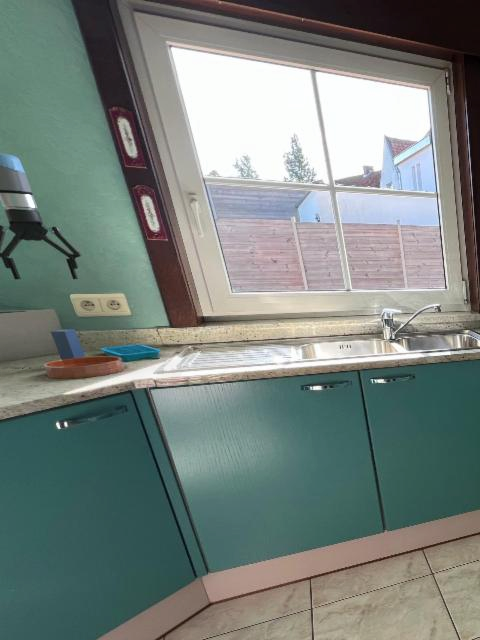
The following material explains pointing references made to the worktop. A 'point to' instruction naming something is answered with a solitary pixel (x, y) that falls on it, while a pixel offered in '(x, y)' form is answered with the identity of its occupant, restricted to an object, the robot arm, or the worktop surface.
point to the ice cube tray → (132, 352)
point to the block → (67, 344)
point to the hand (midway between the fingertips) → (47, 279)
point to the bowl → (84, 367)
